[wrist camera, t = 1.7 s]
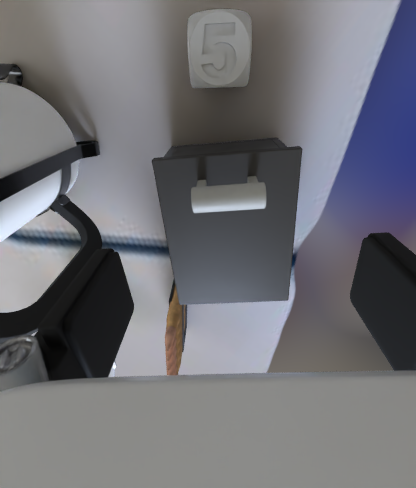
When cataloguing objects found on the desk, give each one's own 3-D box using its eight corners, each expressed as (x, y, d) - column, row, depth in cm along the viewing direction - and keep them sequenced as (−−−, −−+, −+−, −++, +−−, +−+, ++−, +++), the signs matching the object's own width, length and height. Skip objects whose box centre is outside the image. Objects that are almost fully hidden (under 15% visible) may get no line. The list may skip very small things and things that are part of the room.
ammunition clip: (174, 275, 39) (158, 344, 28) (186, 276, 39) (175, 345, 28) (175, 326, 44) (162, 399, 34) (186, 326, 44) (177, 400, 34)
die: (247, 21, 24) (253, 7, 19) (244, 86, 26) (249, 86, 22) (191, 23, 24) (185, 10, 20) (194, 87, 26) (189, 88, 22)
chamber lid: (153, 157, 21) (136, 176, 17) (299, 145, 21) (322, 162, 16) (180, 300, 29) (173, 338, 25) (286, 295, 28) (299, 334, 24)
